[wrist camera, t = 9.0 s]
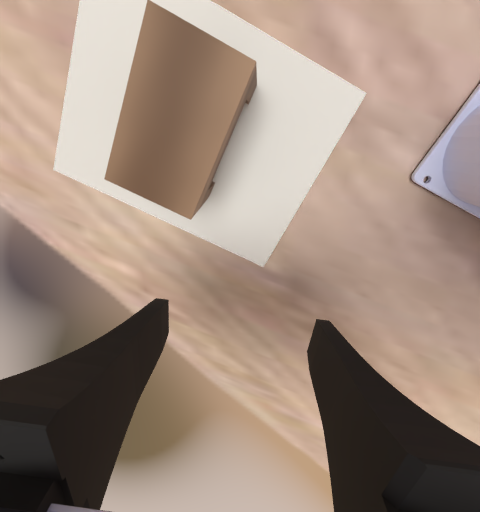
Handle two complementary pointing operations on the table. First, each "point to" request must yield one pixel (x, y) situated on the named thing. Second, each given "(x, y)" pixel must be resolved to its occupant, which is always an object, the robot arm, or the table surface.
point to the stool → (178, 112)
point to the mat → (242, 139)
